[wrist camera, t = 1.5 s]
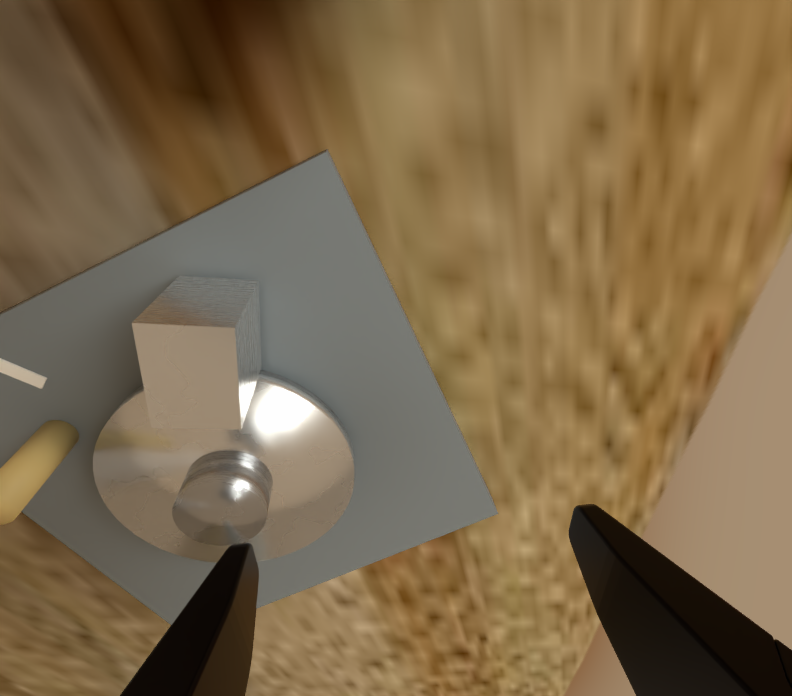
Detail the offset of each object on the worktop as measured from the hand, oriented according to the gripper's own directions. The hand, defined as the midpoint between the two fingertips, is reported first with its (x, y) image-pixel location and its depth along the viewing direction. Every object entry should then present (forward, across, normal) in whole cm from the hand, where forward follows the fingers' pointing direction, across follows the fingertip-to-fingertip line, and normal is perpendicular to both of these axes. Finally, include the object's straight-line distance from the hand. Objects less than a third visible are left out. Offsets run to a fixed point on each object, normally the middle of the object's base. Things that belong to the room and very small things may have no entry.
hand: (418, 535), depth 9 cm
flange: (+11, +8, +6) cm, 15 cm away
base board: (+13, +8, +8) cm, 17 cm away
